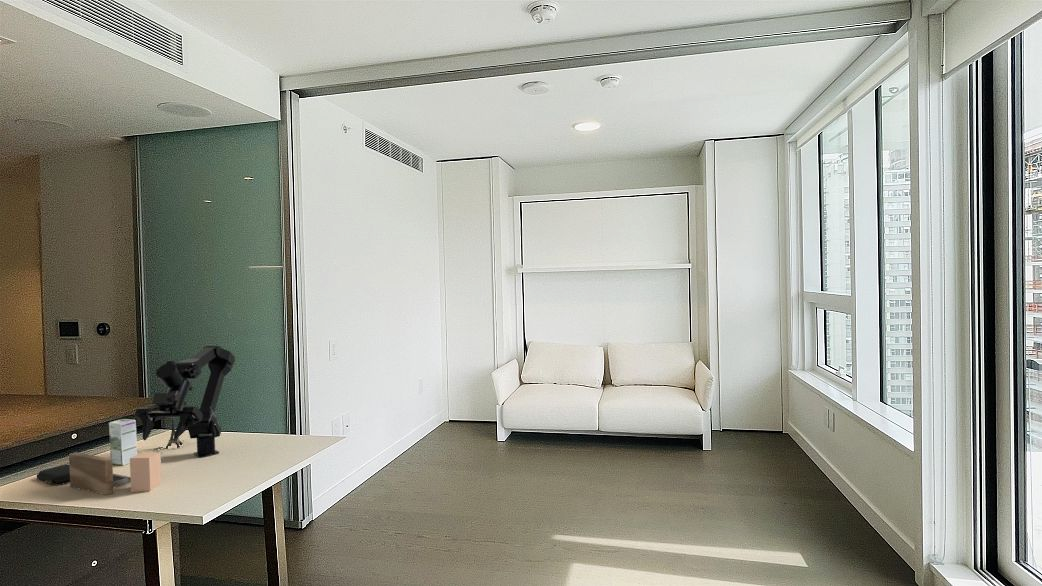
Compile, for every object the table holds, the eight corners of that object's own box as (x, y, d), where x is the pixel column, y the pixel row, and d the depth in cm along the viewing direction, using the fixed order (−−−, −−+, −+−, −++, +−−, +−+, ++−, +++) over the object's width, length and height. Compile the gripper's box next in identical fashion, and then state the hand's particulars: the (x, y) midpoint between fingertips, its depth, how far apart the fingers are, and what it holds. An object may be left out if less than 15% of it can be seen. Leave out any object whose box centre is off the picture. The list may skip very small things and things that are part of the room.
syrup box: (138, 460, 204) (136, 419, 203) (122, 466, 198) (120, 423, 198) (126, 459, 205) (124, 418, 205) (109, 464, 200) (108, 422, 200)
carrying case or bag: (30, 481, 186) (52, 488, 178) (29, 471, 186) (51, 478, 178) (69, 471, 195) (92, 477, 188) (69, 462, 195) (91, 468, 188)
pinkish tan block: (143, 485, 179) (141, 452, 179) (161, 484, 179) (160, 452, 179) (131, 492, 173) (129, 458, 173) (150, 491, 173) (149, 457, 173)
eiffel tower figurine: (185, 441, 230) (184, 407, 229) (201, 444, 225) (200, 409, 224) (145, 451, 216) (143, 415, 216) (161, 455, 211) (159, 418, 211)
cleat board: (105, 476, 188) (103, 445, 187) (140, 483, 180) (139, 451, 180) (70, 486, 179) (68, 454, 178) (106, 495, 171) (104, 460, 171)
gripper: (135, 382, 185) (115, 427, 175) (196, 380, 186) (179, 425, 176) (151, 401, 193) (132, 445, 183) (209, 399, 194) (194, 442, 184)
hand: (159, 439), depth 181 cm, fingers open, 9 cm apart
